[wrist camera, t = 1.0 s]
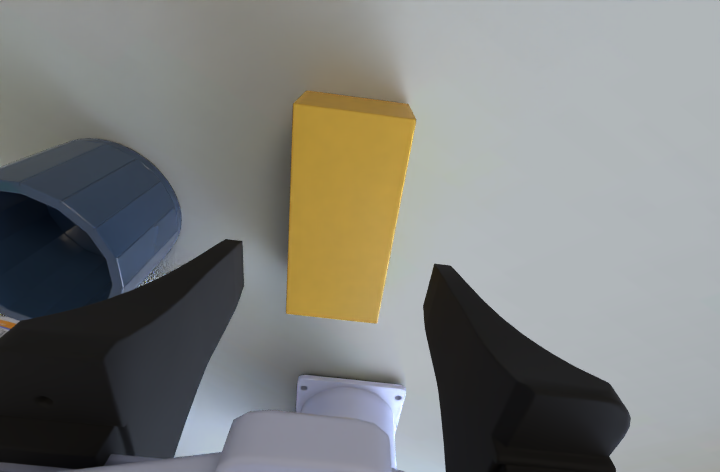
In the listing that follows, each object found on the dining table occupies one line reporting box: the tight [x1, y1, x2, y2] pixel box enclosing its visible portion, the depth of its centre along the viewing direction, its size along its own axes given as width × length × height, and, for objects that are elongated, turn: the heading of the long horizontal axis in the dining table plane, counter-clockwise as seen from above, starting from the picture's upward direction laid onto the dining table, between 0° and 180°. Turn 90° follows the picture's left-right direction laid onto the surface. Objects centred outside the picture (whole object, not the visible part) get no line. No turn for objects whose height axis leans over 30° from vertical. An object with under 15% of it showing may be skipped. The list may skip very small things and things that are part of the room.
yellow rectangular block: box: [286, 90, 416, 324], centre depth 19 cm, size 11×5×4 cm, turn 173°
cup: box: [0, 138, 182, 321], centre depth 19 cm, size 8×8×6 cm
